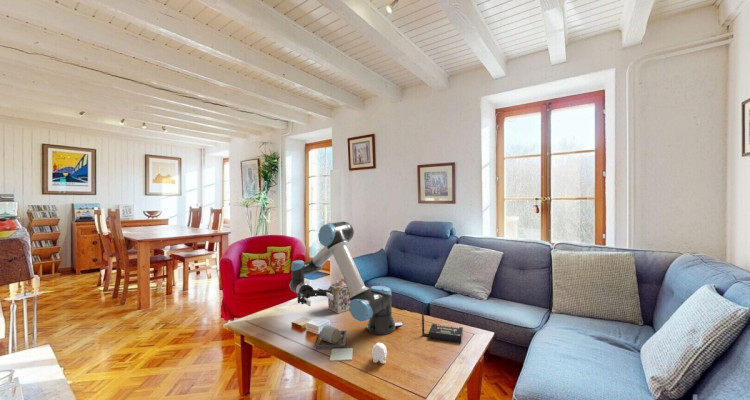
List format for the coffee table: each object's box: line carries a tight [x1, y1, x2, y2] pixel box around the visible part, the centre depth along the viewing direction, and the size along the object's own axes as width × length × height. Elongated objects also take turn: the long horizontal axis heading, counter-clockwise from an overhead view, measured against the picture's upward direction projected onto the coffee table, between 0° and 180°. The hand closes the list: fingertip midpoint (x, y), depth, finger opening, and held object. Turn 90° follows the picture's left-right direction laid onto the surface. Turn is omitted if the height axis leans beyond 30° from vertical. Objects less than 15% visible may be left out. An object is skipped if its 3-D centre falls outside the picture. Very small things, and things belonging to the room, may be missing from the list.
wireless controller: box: [421, 303, 464, 344], centre depth 163 cm, size 20×14×17 cm
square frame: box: [315, 330, 348, 350], centre depth 160 cm, size 14×16×2 cm
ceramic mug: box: [321, 324, 344, 345], centre depth 161 cm, size 11×8×8 cm
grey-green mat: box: [329, 347, 354, 362], centre depth 147 cm, size 10×10×1 cm
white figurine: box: [371, 342, 388, 365], centre depth 142 cm, size 6×8×12 cm
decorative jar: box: [327, 280, 351, 314], centre depth 203 cm, size 12×12×18 cm
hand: (321, 300), depth 168 cm, fingers open, 13 cm apart
